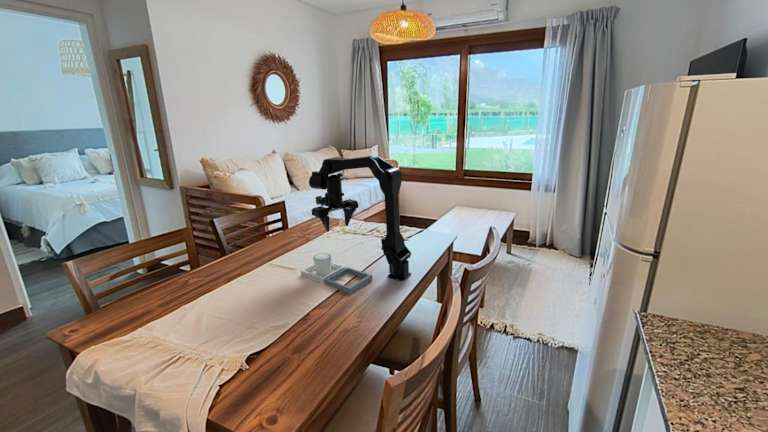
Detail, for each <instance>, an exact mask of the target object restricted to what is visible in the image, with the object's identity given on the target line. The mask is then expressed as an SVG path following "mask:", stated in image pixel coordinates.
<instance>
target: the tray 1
mask: <svg viewBox="0 0 768 432" xmlns="http://www.w3.org/2000/svg"><path fill="white" fill-rule="evenodd" d="M345 268H347V267H346V266H345V265H342V264H339V263H337V262H333V261H331V269H334V271H331V273H330V274H328V275H326V276H325V277H321V276H318V275H316V273H312V272H314V271H316V270H315V265H314V263H313V264H311V265H309V266H307V267H305V268H303V269H301V270H300V276H302V277H304V278H307V279H309V280H313V281H315V282H316V283H317V282H318V283H320V284H323V285H324V284H325V279H327V278H329V277H330V276H332V275H334V274H336V273H338V272H340V271H341V270H343V269H345Z"/></svg>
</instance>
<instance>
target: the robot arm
mask: <svg viewBox="0 0 768 432" xmlns="http://www.w3.org/2000/svg"><path fill="white" fill-rule="evenodd" d="M364 168H365V169H366V168H368V169H369V170H370V171H371V173H372V175H373V177H374V178H375V179H377V180H378V182H379V188H380V191H381V192H382V193H383V196H384V210H385V211H384V212H385V226H386V229H385V230H386V235H385V236H384V237H382V238H381V239H380V242H381V248H380V250H381V251H382V253H383V256H385V259H386V262H387V264H388V265H389V267H388V268H389V270H388V271H389V272H388V273H389V274H388V275H387V277H388V278H391V279H394V280H397V281H400V282H403V281H404V280H405V279H407V278H408V277H410V276H411V275H412V273H411V272H409V271H410V270H409V269H410V268H409V266H410V265H409V264H410V262H409V260H408V259H410V258H411V256H412V252H411V251H410V250H409V248H408V247H407V245H406V244H405V238H404V236H403V235H402V233H401V227H400V205H399V204H400V203H399V192H400V189H401V187H402V182H403V181H402V180H403V174H402V171H401V170H400V169H399V168H397V167H395V166H394V165H392V164H391V162H388V161H386V160H384V159H382V157H380V156H379V155H377V154H374V155H369V156H360V157H352V158H351V157H350V158H345V157H341V156H333V157H329V158H326V159H325V158H324V159H323V160H322V164H321V167H320V169H319V171H316V170H315V171H312V172H311V175H310V177H309V180H308V184H309V187H310V188H311V189H315V190H326V192H325V194H324V197H322V195H319V196H318V195H316V196H315V204H316V205H320V206H316V207H313V208H312V209H311V216H313V217H316V218H318V219H319V220H320V221H321V222H322V225H323V226H324V229H325V231H326V232H327V233H329V232H330V216H329V214H330V213H331V212H335V211H339V210H342V211H343V212H344V213H343V214H344V225H345V227H349V224H350V222H351V219H352V217H353V215H354V213H355V211H357V209H358V208H359V202H358V201H357V200H355V199H351V198H349V199H345V200H343V197H344V196H345V193H344V192H343V189H342V181H343V180H346V178H347V177H346V176H345V175H344V174H343V173H342V171H345V170H354V169H364ZM336 173H337V174H336Z"/></svg>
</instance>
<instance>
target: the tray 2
mask: <svg viewBox="0 0 768 432" xmlns="http://www.w3.org/2000/svg"><path fill="white" fill-rule="evenodd" d="M347 274H348V275H349V274H350V275H353V276H355V277H359V278H361V280H358V282H356V283H354V284H353V285H351V286H348V285H345V284H342V283H339V282H336V281H337V280H338V279H340V278H342V277H344V276H345V275H347ZM371 281H373V274H371V273H367V272H364V271H361V270H357V269H354V268H351V267H349V266H347V267H346V268H345V269H343V270H341V271H340V272H338V273H336V274H334V275H332V276H330V277H329V278H327V279H325V283H324V284H325V286H328V287H330V288H333V289H336V290H338V291H342V292H344V293H347V294H349V295H351V294H353V293H354V292H356V291H358V290H359V289H361V288H362V287H364V286H365V285H367V284H369V283H370V282H371Z"/></svg>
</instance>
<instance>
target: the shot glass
mask: <svg viewBox="0 0 768 432" xmlns="http://www.w3.org/2000/svg"><path fill="white" fill-rule="evenodd" d="M312 260H313V264H314V265H315V270H314V271H315V275H318V276H321V277H325V276H326V275H328V274H330V273H332V268H331V262H332V254H330V253H327V252H324V253H317V254H314V255H313V258H312Z"/></svg>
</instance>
